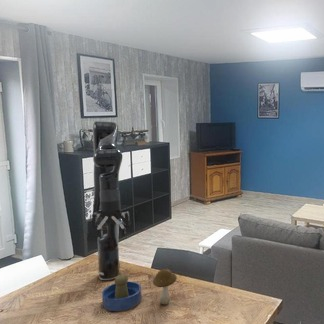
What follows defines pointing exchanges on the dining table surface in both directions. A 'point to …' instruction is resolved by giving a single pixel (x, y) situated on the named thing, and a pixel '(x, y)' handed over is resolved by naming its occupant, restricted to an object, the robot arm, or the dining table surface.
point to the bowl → (122, 303)
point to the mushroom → (164, 283)
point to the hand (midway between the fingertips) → (112, 237)
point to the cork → (121, 287)
